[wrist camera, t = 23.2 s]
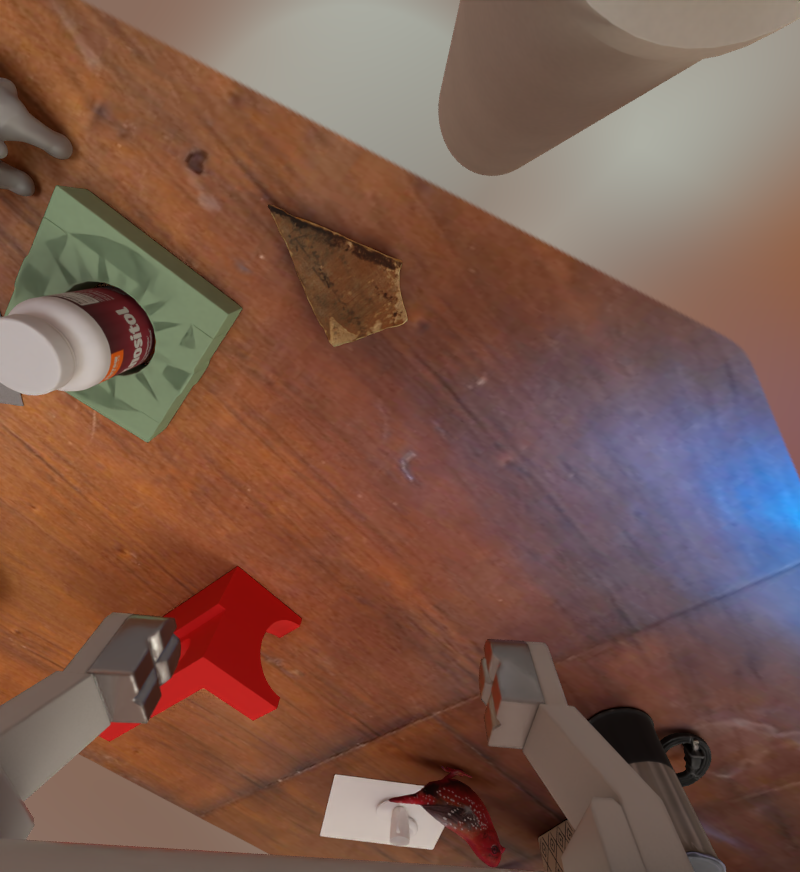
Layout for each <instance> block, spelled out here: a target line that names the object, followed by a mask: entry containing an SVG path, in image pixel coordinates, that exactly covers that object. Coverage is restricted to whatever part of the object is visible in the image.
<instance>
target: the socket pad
mask: <svg viewBox="0 0 800 872" xmlns="http://www.w3.org/2000/svg"><path fill="white" fill-rule="evenodd" d="M44 216H45V217H43V219H42V221H41V224H40V227H39V229H38V232H37V234H36V237H35V239H34V242H33V244H32V247H31V249H30V252H29V254H28V255H27V256H26V257H25V259H24V260H23V263H22V265H21V268H20V270H19V273H18V275H17V278H16V281H15V290H14V292H13V295H12V297H11V300H10V302H9V305H8V307H7V310H6V312H5V315H4V316H8V314H9V313H10V311H11V310H12V309H13V308H14V307H15V306H16V305H18V304H19V303H21V302H23V301H25V300H28V299H31V298H36V297H41V296H48V295H54V294H60V293H66V292H72V291H79V290H85V289H91V288H94V287H95V286H96V285H97V284H99V283H100V282H105V283H107V284H110V285H112V286H115V287H118V288H120V289H122V290H123V291H124V292H126V293H127V294H129V295H130V296H131V297H133V298H134V299H135V300H136V301H137V302H138V304H139V305H140V306H141V307H142V308H143V309H144V311H145V312H146V313H147V315H148V317H149V319H150V321H151V323H152V325H153V328H154V334H155V339H156V344H155V352H154V355H153V357H152V359H151V360H150V362H149V364H148V365H138V366H136V367H133V368H131V369H129V370H127V371H125V372H123V373H121V374H118V375H116V376H114V377H112V378H110V379H108V380H106V381H104V382H101V383H99V384H97V385H95V386H92V387H90V388H88V389H85V390H81V391H65V392H67V393H68V394H70V395H71V396H73V397H75V398H76V399H78V400H79V401H81V402H83V403H84V404H86V405H88V406H89V407H91V408H92V409H94V410H96V411H97V412H99V413H100V414H102V415H104V416H105V417H107V418H108V419H110V420H112V421H113V422H115V423H116V424H118V425H120V426H121V427H123V428H125V429H126V430H128V431H129V432H131V433H133V434H134V435H136V436H137V437H139V438H141V439H142V440H144V441H145V442H147V443H148V442H149V441H151V440H152V439H153V438H154V437H156V436H157V435H158V434H159V433H161V432H162V431H163V430H164V429H166V427H167V426H168V424H169V423H170V421H171V419H172V418H173V416H174V415H175V413H176V412H177V410H178V408H179V407H180V405H181V404H182V402H183V401H184V399H185V398H186V396H187V394H188V393H189V391H190V390H191V388H192V387H193V385H195V384H196V383H197V382H198V381H199V379H200V378H201V376H202V375H203V373H204V372H205V370H206V368H207V367H208V365H209V362H210V359H211V357H212V356H213V354H214V352H215V351H216V349H217V348H218V346H219V345H220V343H221V342H222V340H223V338H224V337H225V335H226V334H227V332H228V331H229V329H230V327H231V326H232V324H233V323H234V321H235V320H236V318H237V317H238V315H239V313H240V312H241V310H242V307H240V306H239V305H238V304H237V303H235V302H234V301H233V300H231V299H230V298H229V297H227V296H226V295H225V294H223V293H222V292H221V291H220V290H218V289H217V288H216V287H214V286H213V285H212V284H210V283H209V282H208V281H206V280H205V279H204V278H203V277H201V276H200V275H199V274H197V273H196V272H195V271H193V270H192V269H191V268H189V267H188V266H187V265H185V264H184V263H183V262H182V261H180V260H179V259H178V258H176V257H175V256H174V255H172V254H171V253H170V252H168V251H167V250H166V249H165V248H163V247H162V246H161V245H159V244H158V243H157V242H155V241H154V240H153V239H151V238H150V237H149V236H148V235H146V234H145V233H144V232H142V231H141V230H140V229H138V228H137V227H136V226H134V225H133V224H132V223H131V222H129V221H128V220H127V219H125V218H124V217H123V216H121V215H120V214H119V213H117V212H116V211H115V210H113V209H112V208H111V207H110V206H108V205H107V204H106V203H104V202H103V201H102V200H100V199H99V198H98V197H96V196H95V195H94V194H93V193H91V192H90V191H89V190H87V189H81V188H73V187H66V186H59V185H56V187H55V189H54V192H53V194H52V197H51V199H50V202H49V204H48V207H47V209H46V212H45V214H44Z"/></svg>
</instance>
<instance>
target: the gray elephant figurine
mask: <svg viewBox="0 0 800 872" xmlns="http://www.w3.org/2000/svg"><path fill="white" fill-rule="evenodd" d="M4 141H21V142H26V143H29V144H31V145H34V146H36V147H38V148H41V149H43V150H45V151H46V152H47V153H48V154H50V155H51V156H53V157H55V158H58V159H68V158H69V157H70V156H71V154H72V151H73V148H72V144H71V142H70V141H69V139H68V138H67V137H65V136H64V135H63V134H61V133H58V132H55V131H53V130H51V129H50V128H49V127H47V126H46V125H44V124H43V123H42V122H40V121H39V120H38V119H36V118H35V117H34V116H32V115H31V114H30V113H29V112H28V111H27V109H26V107H25V106H24V104H23V103H22V102H21V101H20V100H19V99H18V96H17V89H16V87H15V85H14V84H13V82H12V81H10V80H8V79H5V78H1V77H0V159H1V158H4V157H6V156H7V154H8V149H7V146H6V144H5V143H4ZM0 189H8V190H10V191H12V192H14V193H16V194H19V195H22V196H31V195H33V194H34V192H35V186H34V182H33V180H32V178H31V177H30V176H29V175H28V174H26V173H25V172H23V171H21V170H19V169H16V168H14V167H12V166H10V165H8V164H6V163H5V162H3V161H1V160H0Z"/></svg>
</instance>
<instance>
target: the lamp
mask: <svg viewBox="0 0 800 872" xmlns="http://www.w3.org/2000/svg"><path fill="white" fill-rule="evenodd" d="M574 832H575V830H574V828H573V827H572V825H571V824H570V822H569V821H568V819H567V820H566V821H564V822H563V823H561V824H559V825H558V826H556V827H555V828H553V829H551V830H550V831H548V832H547V833H545V834H543V835H542V836H540V837H539V838H538V841H539V846H540V851H541V855H542V860H543V865H544V869H545V871H546V872H564V868H563V864H562V860H561V856H562V854H563V852H564V851H565V849H566V847H567V845H568V843H569V841H570V839H571V838H572V836H573V834H574Z"/></svg>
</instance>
